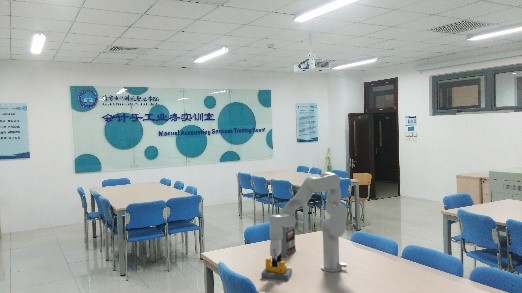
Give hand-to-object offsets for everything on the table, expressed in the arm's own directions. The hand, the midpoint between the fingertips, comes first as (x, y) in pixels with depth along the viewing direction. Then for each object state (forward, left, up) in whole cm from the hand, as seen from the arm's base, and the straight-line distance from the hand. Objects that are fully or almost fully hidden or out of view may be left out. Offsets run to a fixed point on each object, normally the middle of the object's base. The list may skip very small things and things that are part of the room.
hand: (276, 264), depth 241 cm
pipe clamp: (+1, -1, -4) cm, 4 cm away
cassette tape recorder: (+3, -43, -7) cm, 44 cm away
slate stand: (0, 0, -7) cm, 7 cm away
